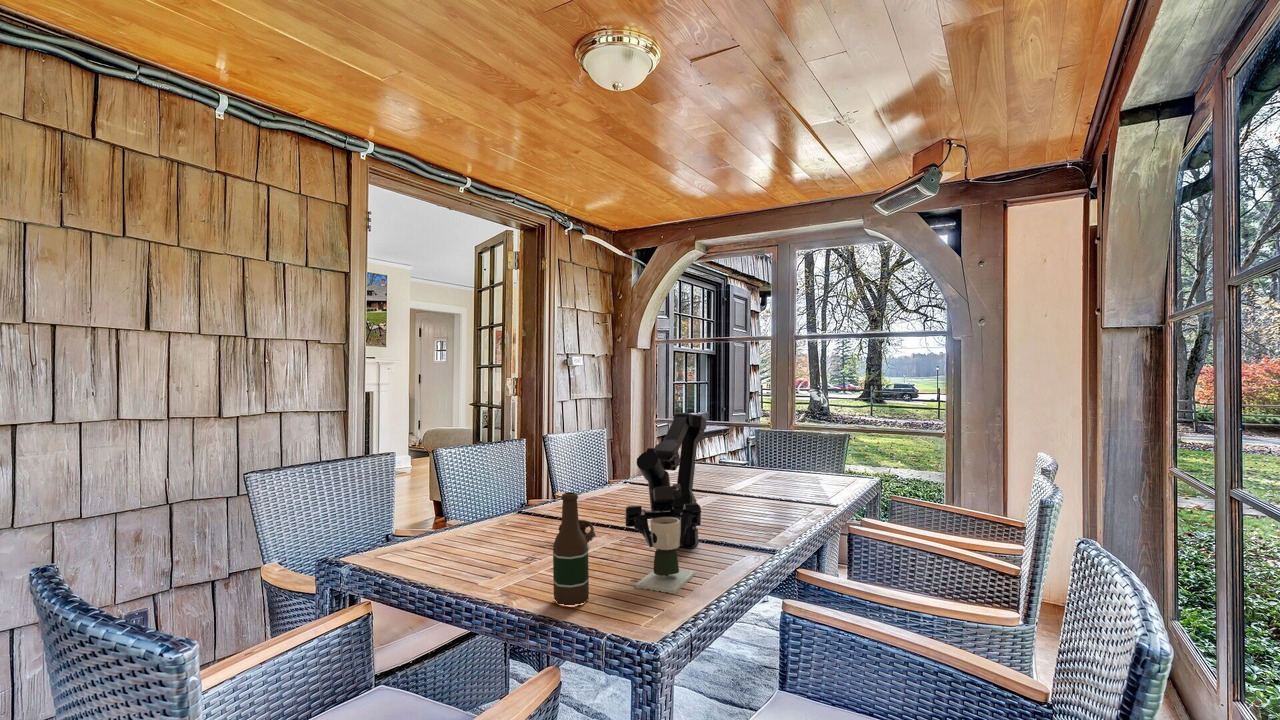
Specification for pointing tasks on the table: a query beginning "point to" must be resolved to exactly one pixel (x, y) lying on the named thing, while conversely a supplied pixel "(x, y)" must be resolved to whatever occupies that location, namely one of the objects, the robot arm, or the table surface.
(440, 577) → the table surface
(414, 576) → the table surface
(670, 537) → the character mug
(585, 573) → the beer bottle
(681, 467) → the robot arm
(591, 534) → the pottery mug
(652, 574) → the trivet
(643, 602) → the table surface
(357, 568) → the table surface
